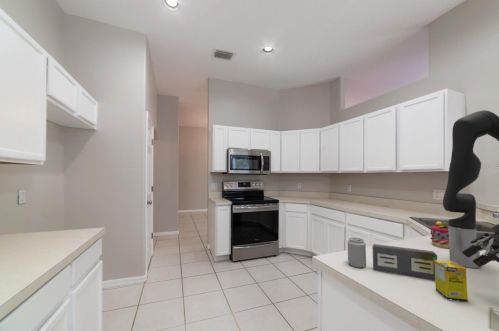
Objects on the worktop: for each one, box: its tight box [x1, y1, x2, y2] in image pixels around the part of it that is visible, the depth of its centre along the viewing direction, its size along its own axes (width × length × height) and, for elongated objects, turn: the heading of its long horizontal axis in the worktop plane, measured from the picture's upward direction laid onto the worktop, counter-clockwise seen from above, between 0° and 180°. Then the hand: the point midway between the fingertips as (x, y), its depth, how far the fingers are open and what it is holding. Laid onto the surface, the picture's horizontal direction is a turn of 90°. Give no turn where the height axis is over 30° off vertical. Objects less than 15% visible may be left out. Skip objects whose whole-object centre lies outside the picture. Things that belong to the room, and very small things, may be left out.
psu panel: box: [371, 243, 438, 281], centre depth 87 cm, size 22×4×11 cm, turn 65°
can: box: [347, 237, 367, 269], centre depth 95 cm, size 8×8×12 cm
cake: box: [429, 220, 449, 250], centre depth 121 cm, size 10×10×15 cm
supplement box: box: [434, 259, 469, 303], centre depth 71 cm, size 6×6×11 cm
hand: (469, 259), depth 69 cm, fingers open, 8 cm apart
